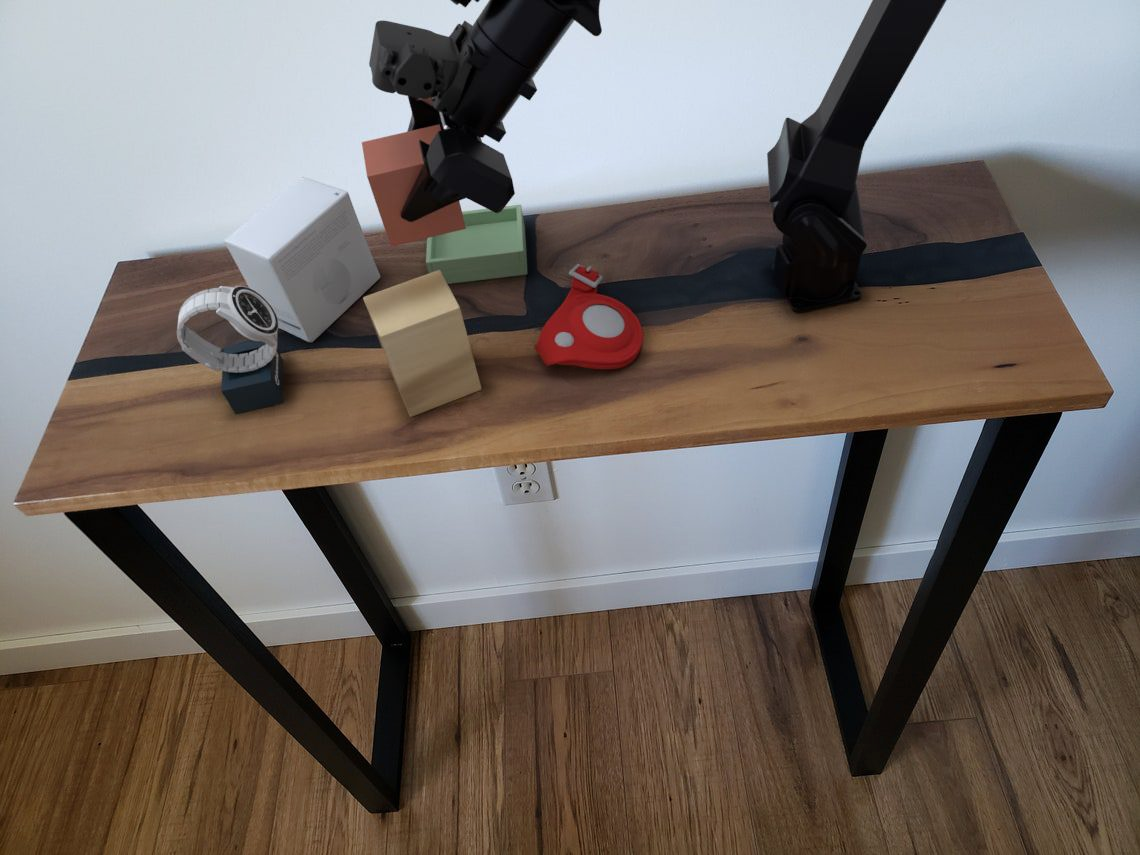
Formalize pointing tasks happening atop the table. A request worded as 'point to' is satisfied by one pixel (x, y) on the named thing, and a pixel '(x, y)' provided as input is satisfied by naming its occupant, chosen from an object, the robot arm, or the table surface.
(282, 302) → the cosmetics box
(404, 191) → the reddish brown rectangular block
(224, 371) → the watch
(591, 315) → the tracker holder
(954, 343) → the table surface
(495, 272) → the tray
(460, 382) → the block
